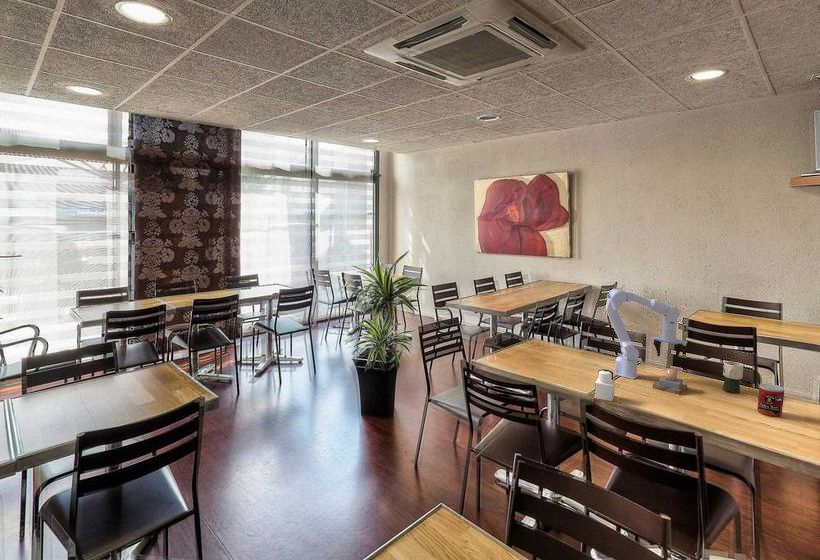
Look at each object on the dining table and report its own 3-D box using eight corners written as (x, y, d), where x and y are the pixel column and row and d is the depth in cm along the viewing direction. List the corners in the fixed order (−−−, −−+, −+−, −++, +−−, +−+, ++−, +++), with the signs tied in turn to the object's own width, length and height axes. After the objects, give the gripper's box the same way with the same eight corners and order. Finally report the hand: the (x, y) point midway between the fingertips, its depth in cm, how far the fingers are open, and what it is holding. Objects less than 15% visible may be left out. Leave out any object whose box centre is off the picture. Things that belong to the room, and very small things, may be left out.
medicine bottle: (596, 392, 197) (598, 367, 196) (614, 395, 194) (615, 369, 192) (594, 398, 191) (595, 371, 190) (612, 401, 188) (613, 374, 186)
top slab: (658, 385, 201) (659, 380, 201) (663, 380, 207) (663, 375, 207) (678, 389, 196) (679, 384, 196) (682, 384, 202) (683, 379, 201)
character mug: (725, 386, 204) (728, 359, 203) (744, 390, 199) (747, 362, 197) (717, 392, 197) (720, 364, 196) (736, 396, 192) (739, 367, 190)
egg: (664, 379, 201) (665, 369, 201) (667, 376, 204) (668, 367, 204) (674, 381, 198) (676, 372, 197) (677, 379, 201) (678, 370, 201)
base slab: (652, 389, 202) (652, 384, 202) (661, 384, 210) (661, 378, 210) (679, 396, 194) (679, 390, 194) (687, 390, 202) (687, 384, 201)
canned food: (755, 413, 175) (757, 386, 173) (758, 407, 180) (761, 381, 179) (780, 419, 169) (783, 392, 168) (782, 413, 175) (785, 386, 174)
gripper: (650, 329, 215) (649, 356, 216) (685, 334, 205) (683, 362, 207) (654, 326, 220) (652, 353, 222) (688, 331, 210) (686, 358, 212)
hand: (667, 357), depth 214 cm, fingers open, 7 cm apart
